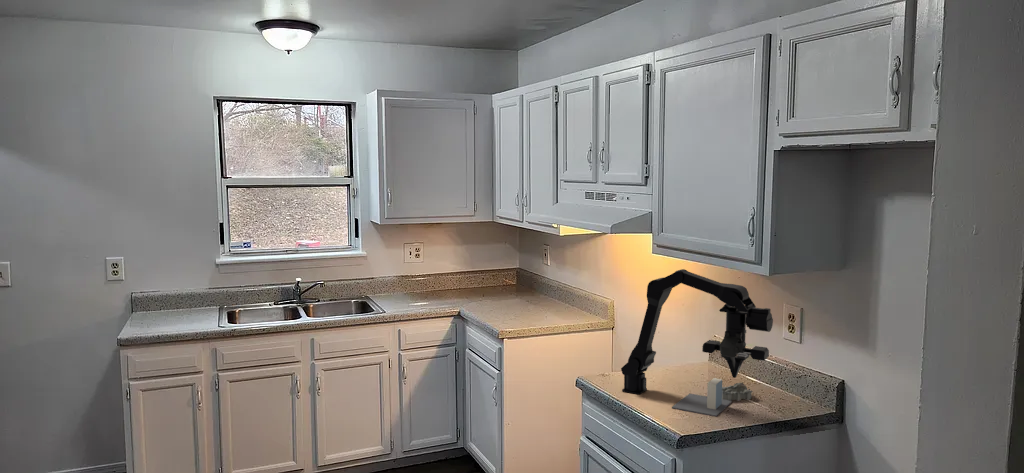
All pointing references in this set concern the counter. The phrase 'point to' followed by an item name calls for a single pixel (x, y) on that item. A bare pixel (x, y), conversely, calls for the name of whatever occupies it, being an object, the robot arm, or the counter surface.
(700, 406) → the mat
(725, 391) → the egg carton
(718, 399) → the card box
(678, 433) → the counter surface
